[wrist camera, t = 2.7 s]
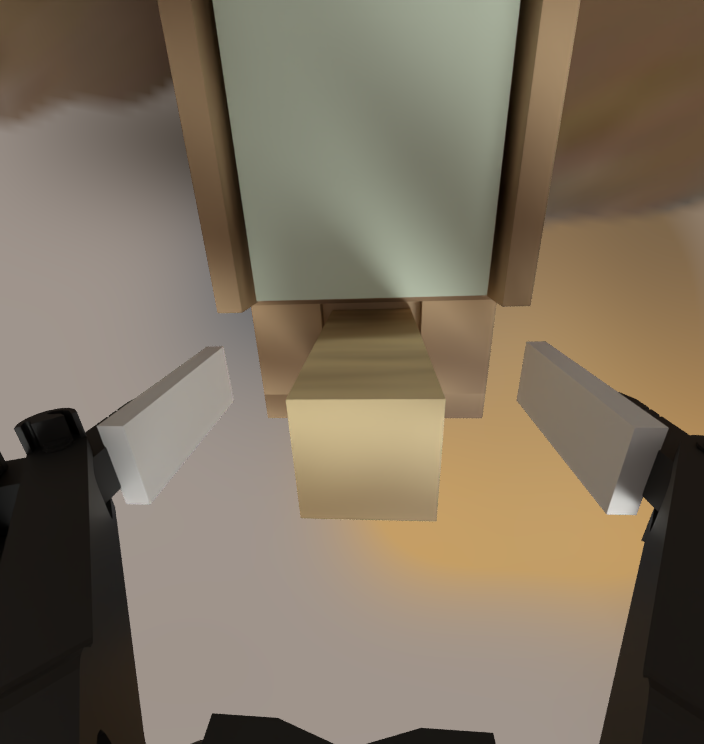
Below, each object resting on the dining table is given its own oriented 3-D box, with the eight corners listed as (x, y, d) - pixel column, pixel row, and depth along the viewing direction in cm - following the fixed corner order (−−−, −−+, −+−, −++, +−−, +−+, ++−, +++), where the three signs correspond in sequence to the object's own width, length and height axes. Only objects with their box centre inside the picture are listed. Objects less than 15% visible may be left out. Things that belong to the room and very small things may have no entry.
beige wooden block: (332, 309, 18) (285, 399, 9) (410, 307, 18) (445, 399, 8) (336, 379, 20) (300, 518, 10) (408, 379, 19) (436, 521, 10)
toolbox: (218, -268, 14) (-65, -1146, 5) (518, -316, 13) (824, -1490, 4) (292, 374, 26) (245, 457, 16) (457, 372, 25) (505, 460, 16)
